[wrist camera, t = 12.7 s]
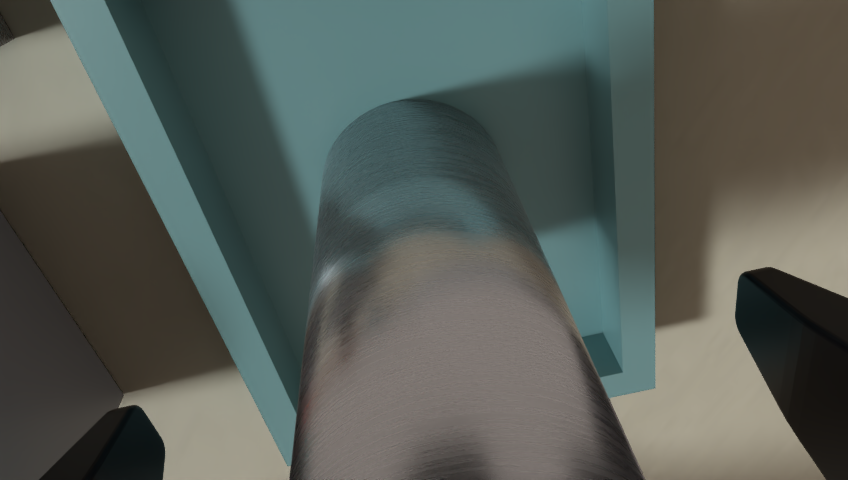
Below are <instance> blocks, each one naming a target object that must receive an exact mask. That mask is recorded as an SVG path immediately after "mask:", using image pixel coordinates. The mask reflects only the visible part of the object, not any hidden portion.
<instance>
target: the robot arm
mask: <svg viewBox="0 0 848 480" xmlns="http://www.w3.org/2000/svg"><path fill="white" fill-rule="evenodd" d="M735 319H736V324H737V328H738V330H739V333H740V334H741V336H742V338H743V340H744V342H745V344H746V346H747V348H748V350H749V351H750V353H751V355H752V357H753V359H754V361H755V363H756V365H757V367H758V368H759V370H760V372H761V374H762V376H763V378H764V380H765V382H766V384H767V385H768V387H769V389H770V391H771V393H772V395H773V397H774V399H775V401H776V402H777V404H778V406H779V408H780V410H781V412H782V413H783V415H784V417H785V419H786V420H787V422H788V424H789V425H790V427H791V428H792V430H793V431H794V433H795V434H796V436H797V437H798V439H799V440H800V442H801V443H802V445H803V446H804V448H805V449H806V451H807V452H808V454H809V455H810V456H811V458H812V459H813V461H814V462H815V464H816V465H817V467H818V468H819V470H820V471H821V473H822V474H823V476H824V477H825V478H826V480H848V298H846V297H844V296H841V295H839V294H836V293H834V292H832V291H829V290H827V289H824V288H822V287H819V286H817V285H814V284H812V283H810V282H807V281H805V280H802V279H800V278H797V277H795V276H792V275H790V274H788V273H785V272H783V271H780V270H778V269H775V268H772V267H765V268H760V269H756V270H751V271H746V272H744V273H742V274H741V275H740V277H739V280H738V288H737V300H736V311H735ZM164 462H165V447H164V443H163V440H162V438H161V437H160V435H159V434H158V432H157V431H156V429H155V427H154V426H153V424H152V423H151V421H150V420H149V418H148V417H147V415H146V414H145V412H144V411H143V410H142V408H140V407H139V406H137V405H131V406H126V407H121V408H117V409H113V410H110V411H108V412H107V413H106V414H105V415H103V416H102V417H101V418H100V419H99V420H98V421H97V422H96V423H95V424H94V425H93V426H92V427H91V428H90V429H89V430H88V431H87V432H86V433H85V434H84V435H83V436H82V437H81V438H80V439H79V440H78V441H77V442H76V443H75V444H74V445H73V446H72V447H71V448H70V449H69V450H68V451H67V452H66V453H65V454H64V455H63V456H62V457H61V458H60V459H59V460H58V461H57V462H56V463H55V464H54V465H53V466H52V467H51V468H50V469H49V470H48V471H47V472H46V473H45V474H44V475H43V476H42V477H41V478H40V479H39V480H163V472H164Z"/></svg>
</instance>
